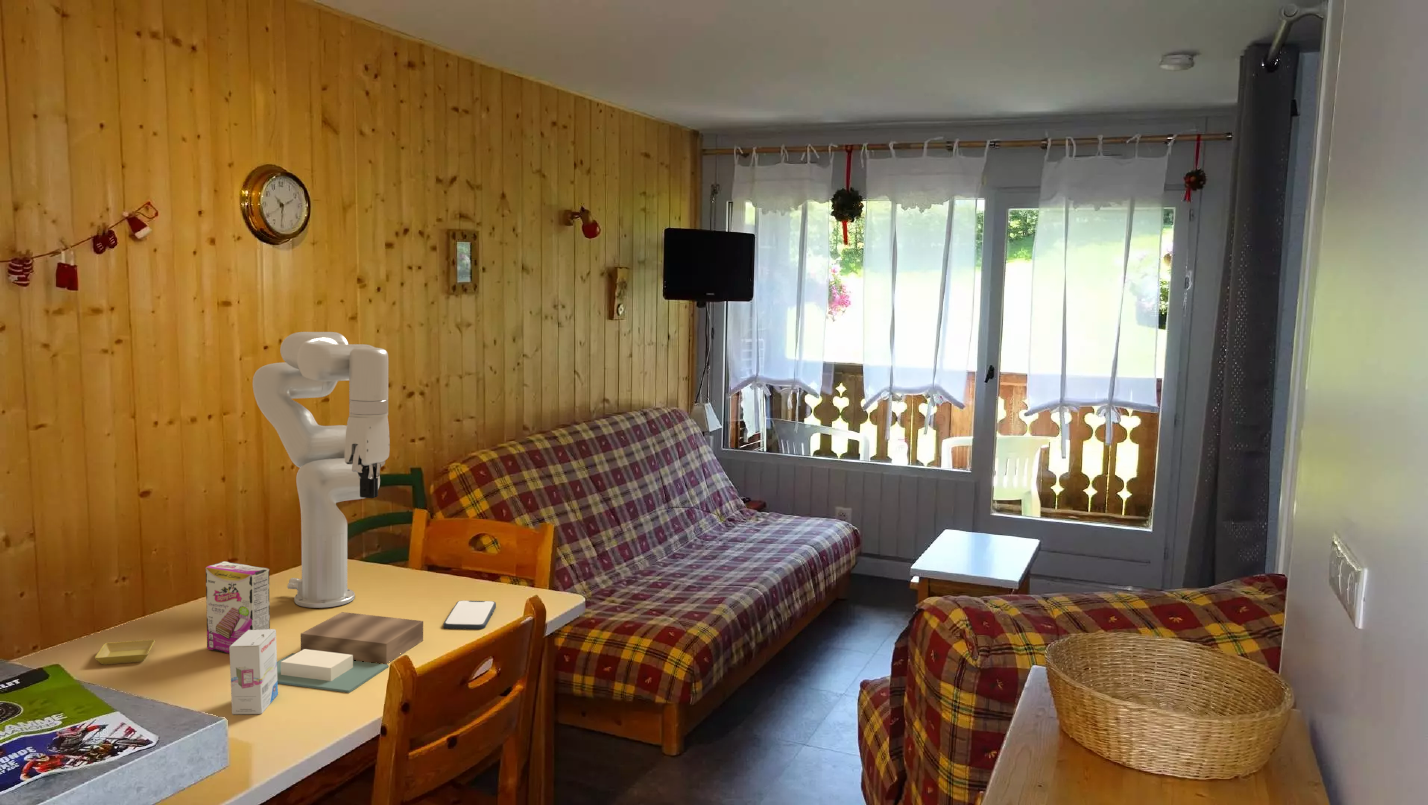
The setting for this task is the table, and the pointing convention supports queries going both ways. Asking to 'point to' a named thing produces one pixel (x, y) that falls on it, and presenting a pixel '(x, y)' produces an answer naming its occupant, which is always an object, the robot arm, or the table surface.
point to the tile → (317, 664)
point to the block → (364, 636)
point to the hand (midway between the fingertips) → (368, 496)
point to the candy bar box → (235, 602)
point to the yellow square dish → (124, 652)
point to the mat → (341, 683)
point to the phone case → (470, 615)
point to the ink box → (253, 671)
